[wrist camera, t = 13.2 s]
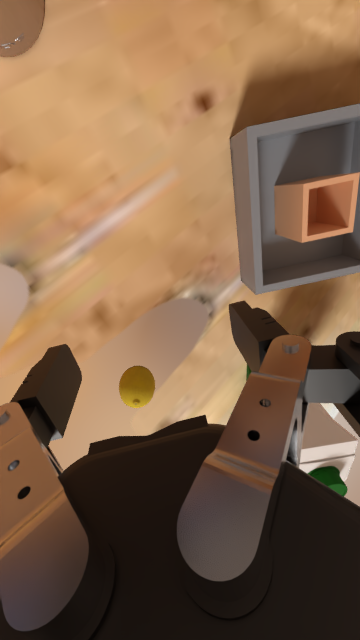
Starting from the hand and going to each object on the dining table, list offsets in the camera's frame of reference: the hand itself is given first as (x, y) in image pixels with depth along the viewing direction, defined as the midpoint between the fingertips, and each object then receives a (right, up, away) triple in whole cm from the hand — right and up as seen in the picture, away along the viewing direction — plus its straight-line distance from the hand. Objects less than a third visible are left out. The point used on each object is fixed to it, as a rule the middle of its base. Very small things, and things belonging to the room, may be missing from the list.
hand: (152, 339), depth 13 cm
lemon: (-6, -8, +32) cm, 33 cm away
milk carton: (+17, -9, +35) cm, 40 cm away
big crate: (+17, +16, +22) cm, 32 cm away
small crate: (+17, +16, +22) cm, 32 cm away
